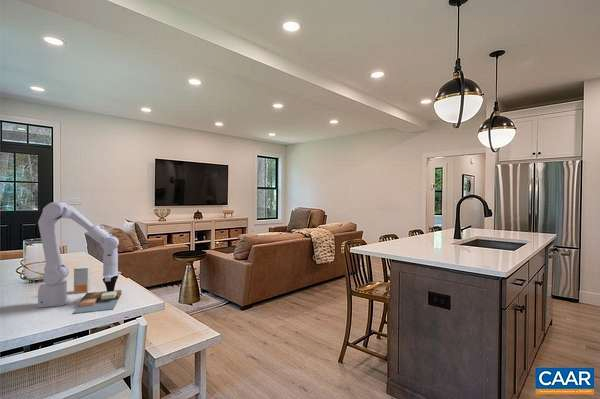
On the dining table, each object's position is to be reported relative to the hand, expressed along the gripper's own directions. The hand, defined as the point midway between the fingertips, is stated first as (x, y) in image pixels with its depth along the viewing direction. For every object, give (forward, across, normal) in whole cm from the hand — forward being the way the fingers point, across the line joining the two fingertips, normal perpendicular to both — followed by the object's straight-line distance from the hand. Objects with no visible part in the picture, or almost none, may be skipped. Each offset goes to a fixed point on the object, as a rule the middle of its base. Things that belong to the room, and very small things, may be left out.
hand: (110, 293), depth 142 cm
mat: (+3, -9, +4) cm, 10 cm away
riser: (+3, +1, +4) cm, 5 cm away
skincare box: (+3, +16, +14) cm, 22 cm away
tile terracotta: (+2, -6, +7) cm, 10 cm away
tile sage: (+1, -3, 0) cm, 3 cm away
